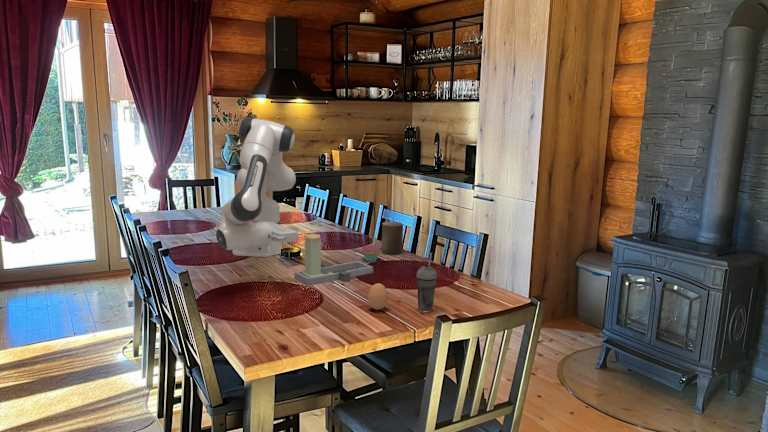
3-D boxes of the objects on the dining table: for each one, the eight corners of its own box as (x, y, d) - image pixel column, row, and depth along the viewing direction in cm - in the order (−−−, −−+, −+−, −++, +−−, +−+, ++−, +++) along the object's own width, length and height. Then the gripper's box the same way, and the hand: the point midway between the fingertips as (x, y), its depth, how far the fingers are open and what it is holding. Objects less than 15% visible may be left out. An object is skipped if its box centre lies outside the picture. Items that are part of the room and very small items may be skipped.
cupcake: (382, 259, 254) (383, 232, 251) (376, 264, 246) (377, 237, 243) (364, 257, 256) (365, 230, 254) (357, 261, 248) (358, 234, 246)
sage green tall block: (310, 282, 217) (310, 238, 214) (301, 277, 223) (301, 234, 219) (324, 279, 221) (324, 236, 218) (314, 275, 226) (315, 232, 223)
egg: (387, 306, 196) (388, 280, 194) (387, 313, 189) (388, 286, 187) (367, 305, 195) (368, 280, 194) (367, 312, 189) (368, 286, 187)
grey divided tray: (312, 288, 212) (312, 280, 211) (290, 276, 226) (290, 268, 225) (378, 275, 230) (378, 267, 230) (353, 264, 244) (353, 257, 243)
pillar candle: (400, 255, 260) (401, 223, 257) (379, 253, 262) (380, 221, 259) (403, 250, 270) (405, 219, 267) (383, 249, 271) (384, 218, 269)
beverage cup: (413, 306, 196) (415, 249, 192) (434, 306, 197) (436, 250, 193) (416, 314, 189) (418, 255, 185) (437, 314, 190) (440, 255, 186)
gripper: (275, 230, 197) (310, 226, 205) (250, 220, 212) (283, 216, 221) (276, 248, 198) (310, 243, 206) (250, 237, 214) (283, 232, 222)
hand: (296, 229), depth 214 cm, fingers closed
